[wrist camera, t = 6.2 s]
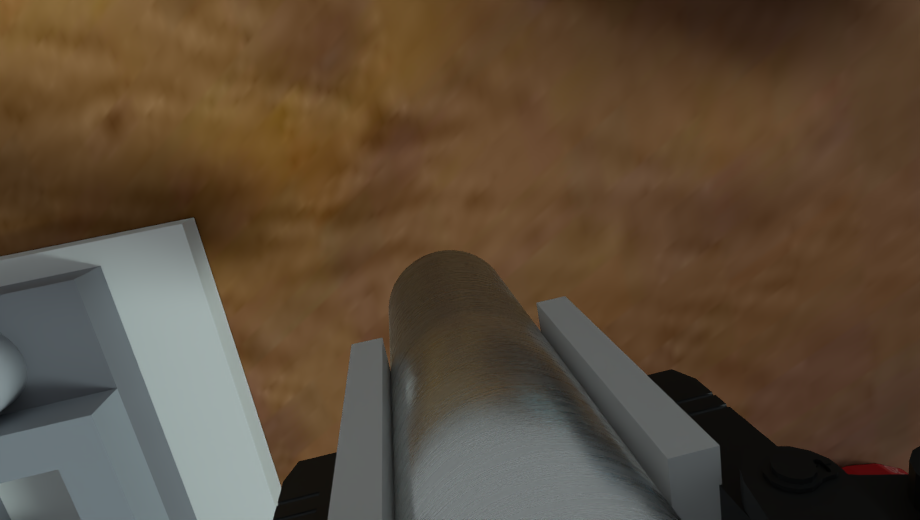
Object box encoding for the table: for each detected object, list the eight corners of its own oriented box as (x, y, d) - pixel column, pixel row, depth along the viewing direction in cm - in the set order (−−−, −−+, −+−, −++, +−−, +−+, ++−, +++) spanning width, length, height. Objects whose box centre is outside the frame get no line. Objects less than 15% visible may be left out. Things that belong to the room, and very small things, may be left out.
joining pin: (376, 264, 17) (354, 744, 4) (496, 238, 18) (847, 603, 4) (402, 374, 19) (454, 1045, 5) (515, 348, 19) (842, 912, 5)
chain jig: (-216, 300, 22) (-455, 371, 15) (193, 217, 23) (127, 251, 17) (-9, 672, 27) (-124, 838, 21) (312, 584, 29) (295, 712, 22)
